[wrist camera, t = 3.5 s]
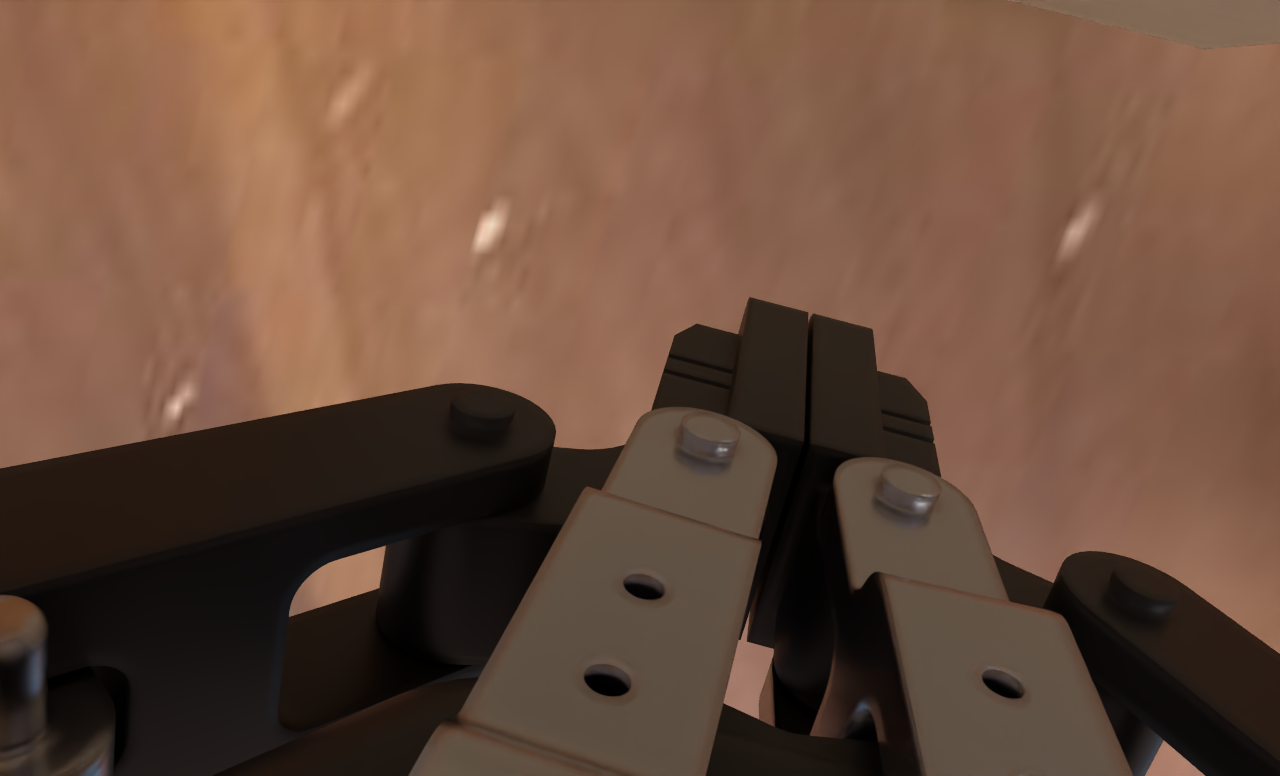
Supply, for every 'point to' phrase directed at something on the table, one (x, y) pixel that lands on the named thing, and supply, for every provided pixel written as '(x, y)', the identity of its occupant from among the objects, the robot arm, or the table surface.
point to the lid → (1181, 19)
